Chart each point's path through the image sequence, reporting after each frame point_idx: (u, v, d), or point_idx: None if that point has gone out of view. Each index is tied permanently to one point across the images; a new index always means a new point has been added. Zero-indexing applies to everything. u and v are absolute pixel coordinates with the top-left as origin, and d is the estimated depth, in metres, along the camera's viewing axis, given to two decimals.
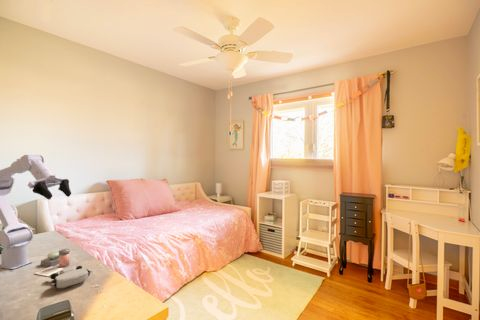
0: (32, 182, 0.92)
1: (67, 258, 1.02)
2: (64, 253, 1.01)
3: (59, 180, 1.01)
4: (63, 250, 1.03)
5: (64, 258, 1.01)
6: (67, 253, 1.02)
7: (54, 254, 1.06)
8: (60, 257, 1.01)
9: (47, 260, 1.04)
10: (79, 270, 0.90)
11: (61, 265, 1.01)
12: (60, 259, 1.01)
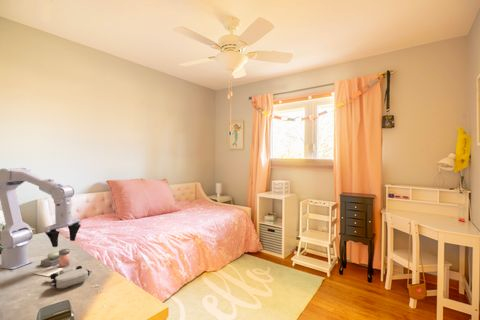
0: (49, 229, 0.96)
1: (67, 258, 1.02)
2: (64, 253, 1.01)
3: (73, 222, 1.06)
4: (63, 250, 1.03)
5: (64, 258, 1.02)
6: (67, 253, 1.02)
7: (54, 254, 1.06)
8: (60, 257, 1.01)
9: (47, 260, 1.04)
10: (79, 270, 0.90)
11: (61, 265, 1.01)
12: (60, 259, 1.01)
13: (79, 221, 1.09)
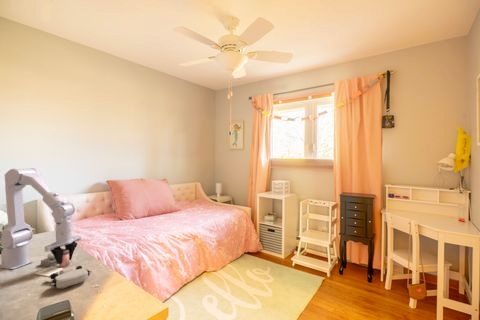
0: (49, 248, 0.96)
1: (67, 258, 1.02)
2: (64, 253, 1.01)
3: None
4: (63, 250, 1.03)
5: (64, 258, 1.02)
6: (67, 253, 1.02)
7: None
8: None
9: (47, 260, 1.04)
10: (79, 270, 0.90)
11: (61, 265, 1.01)
12: None
13: (79, 238, 1.09)
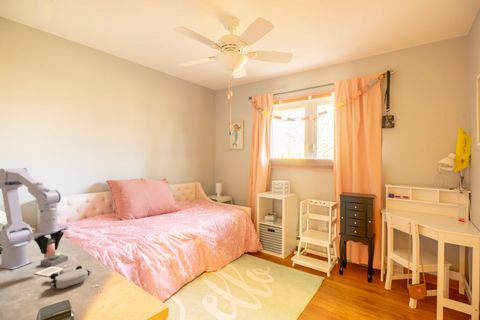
0: (32, 236, 0.91)
1: (52, 248, 0.97)
2: (49, 242, 0.96)
3: None
4: (48, 239, 0.98)
5: (49, 248, 0.96)
6: (52, 242, 0.97)
7: None
8: None
9: (47, 260, 1.04)
10: (79, 270, 0.90)
11: (45, 255, 0.96)
12: None
13: (66, 227, 1.03)
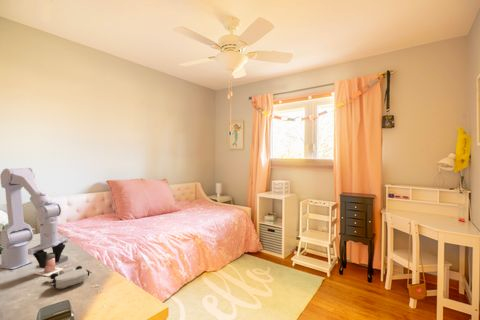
0: (33, 251, 0.91)
1: (53, 262, 0.97)
2: (49, 257, 0.96)
3: None
4: (48, 254, 0.98)
5: (49, 263, 0.96)
6: (52, 257, 0.97)
7: None
8: (45, 261, 0.96)
9: None
10: (79, 270, 0.90)
11: (46, 270, 0.96)
12: (45, 264, 0.96)
13: (66, 240, 1.03)
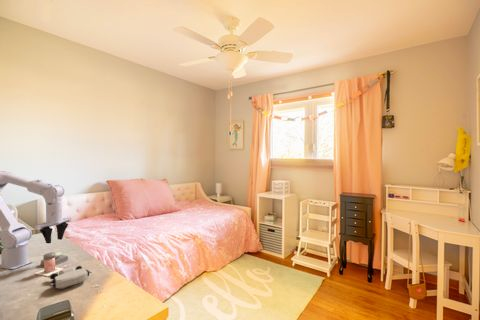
0: (39, 227, 1.00)
1: (52, 262, 0.97)
2: (49, 257, 0.96)
3: None
4: (48, 254, 0.98)
5: (49, 263, 0.96)
6: (52, 257, 0.97)
7: None
8: (45, 262, 0.96)
9: None
10: (78, 270, 0.90)
11: (46, 270, 0.96)
12: (45, 264, 0.96)
13: (69, 220, 1.12)
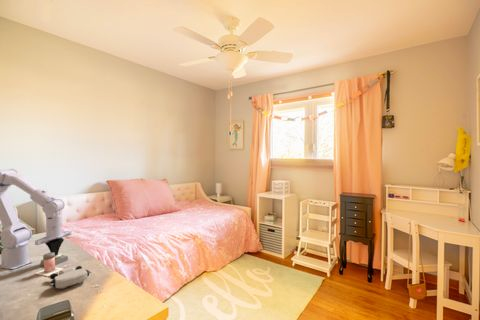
0: (39, 242, 1.00)
1: (52, 262, 0.97)
2: (48, 257, 0.96)
3: None
4: (47, 254, 0.98)
5: (49, 263, 0.96)
6: (52, 257, 0.97)
7: None
8: (44, 261, 0.96)
9: None
10: (78, 270, 0.90)
11: (45, 270, 0.96)
12: (45, 263, 0.96)
13: (70, 233, 1.12)
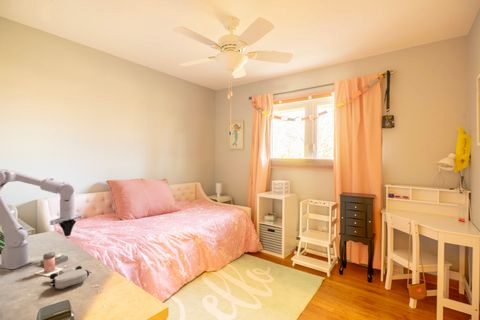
0: (54, 222, 1.08)
1: (52, 262, 0.97)
2: (48, 257, 0.96)
3: None
4: (48, 253, 0.98)
5: (48, 262, 0.96)
6: (51, 257, 0.97)
7: None
8: (44, 261, 0.96)
9: None
10: (78, 270, 0.90)
11: (45, 270, 0.96)
12: (44, 263, 0.96)
13: (81, 216, 1.20)
